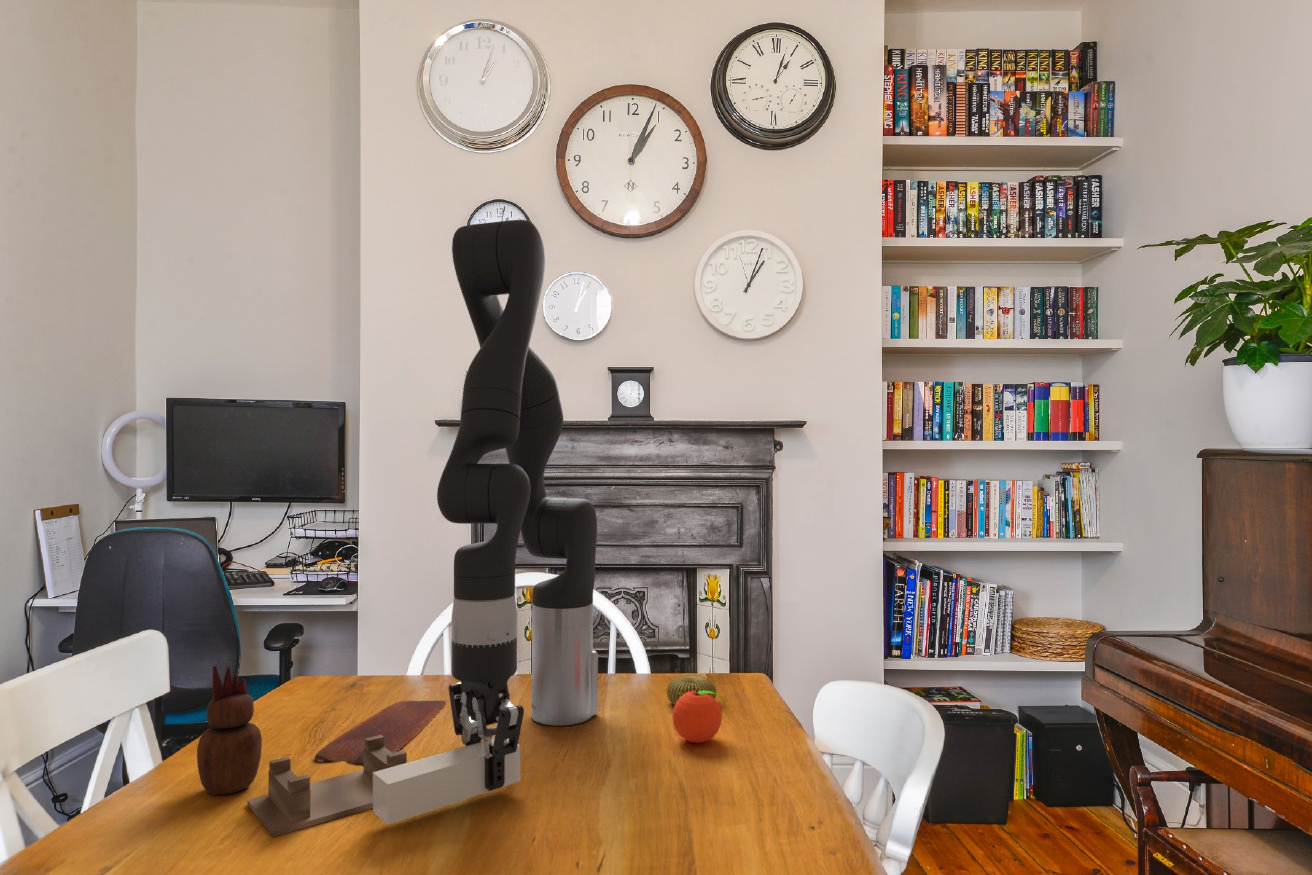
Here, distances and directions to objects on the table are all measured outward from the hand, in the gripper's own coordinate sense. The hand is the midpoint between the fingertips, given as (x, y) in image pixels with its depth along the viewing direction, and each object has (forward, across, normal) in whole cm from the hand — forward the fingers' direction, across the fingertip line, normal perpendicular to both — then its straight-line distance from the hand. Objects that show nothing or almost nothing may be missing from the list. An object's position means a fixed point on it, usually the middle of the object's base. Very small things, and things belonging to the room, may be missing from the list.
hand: (484, 780), depth 93 cm
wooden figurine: (+2, +22, +22) cm, 31 cm away
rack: (+2, +11, +13) cm, 17 cm away
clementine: (+3, -3, -32) cm, 32 cm away
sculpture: (+3, +9, -42) cm, 44 cm away
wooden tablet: (+3, +30, -1) cm, 30 cm away
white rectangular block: (0, 0, +4) cm, 4 cm away
